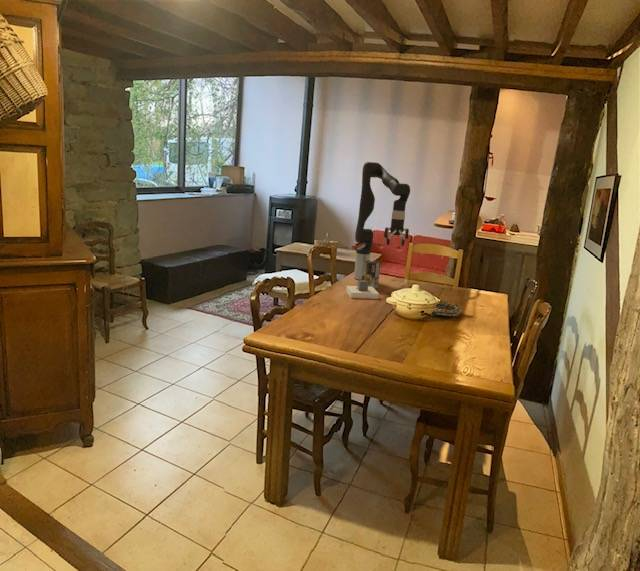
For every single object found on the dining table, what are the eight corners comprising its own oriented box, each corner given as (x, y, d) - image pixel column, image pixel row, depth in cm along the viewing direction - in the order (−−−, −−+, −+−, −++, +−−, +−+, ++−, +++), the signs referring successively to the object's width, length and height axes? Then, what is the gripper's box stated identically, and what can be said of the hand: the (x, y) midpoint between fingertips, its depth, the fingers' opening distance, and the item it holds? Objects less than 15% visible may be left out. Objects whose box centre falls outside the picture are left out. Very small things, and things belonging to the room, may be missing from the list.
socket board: (345, 290, 287) (346, 285, 286) (372, 291, 289) (372, 286, 288) (350, 297, 271) (351, 292, 270) (378, 298, 273) (378, 293, 273)
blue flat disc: (438, 303, 274) (439, 295, 273) (478, 318, 253) (480, 309, 252) (403, 309, 258) (404, 300, 256) (443, 325, 236) (444, 316, 235)
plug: (356, 292, 282) (357, 279, 280) (365, 293, 283) (366, 280, 281) (358, 295, 277) (359, 281, 275) (367, 295, 278) (368, 282, 276)
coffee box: (378, 287, 300) (381, 262, 296) (373, 289, 294) (376, 263, 291) (365, 284, 304) (367, 259, 301) (360, 286, 299) (363, 261, 295)
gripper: (407, 218, 287) (404, 245, 291) (384, 216, 285) (381, 243, 289) (411, 219, 280) (408, 247, 284) (387, 218, 278) (385, 245, 282)
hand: (395, 245), depth 286 cm, fingers open, 8 cm apart
